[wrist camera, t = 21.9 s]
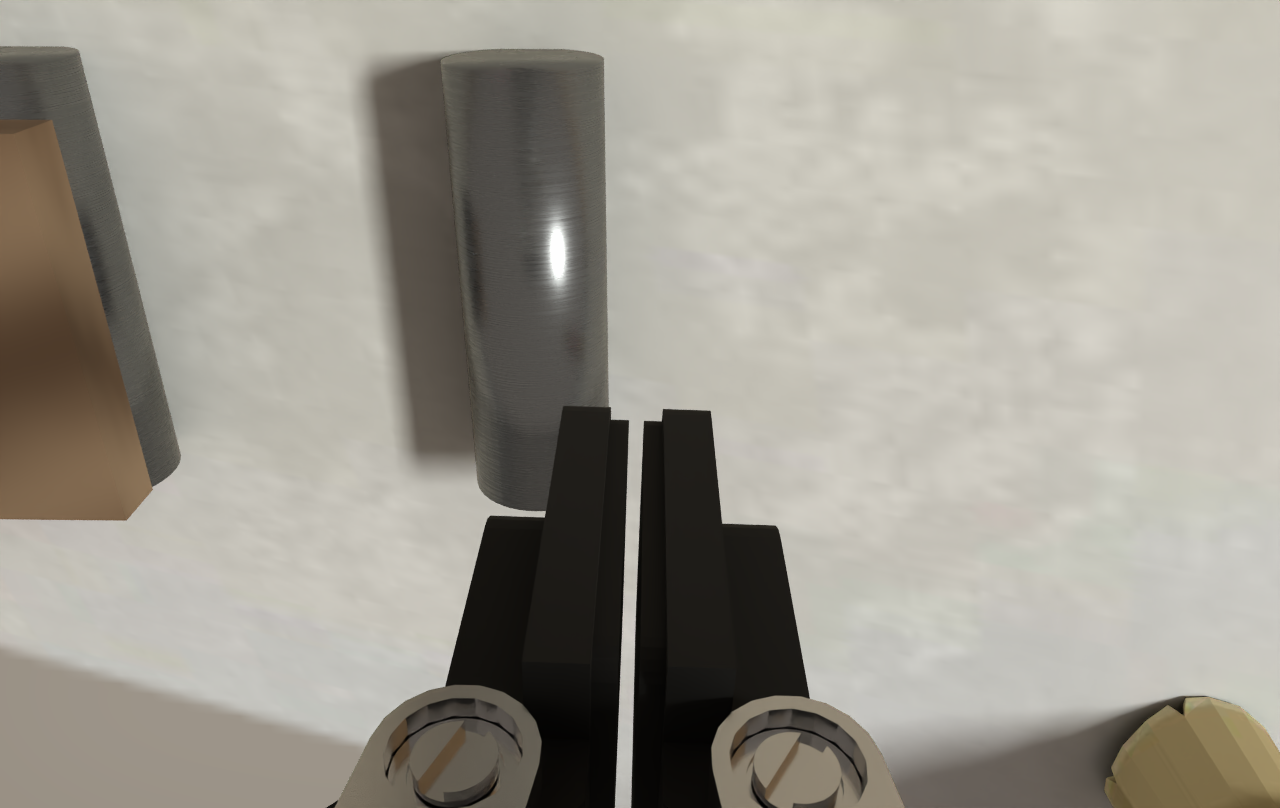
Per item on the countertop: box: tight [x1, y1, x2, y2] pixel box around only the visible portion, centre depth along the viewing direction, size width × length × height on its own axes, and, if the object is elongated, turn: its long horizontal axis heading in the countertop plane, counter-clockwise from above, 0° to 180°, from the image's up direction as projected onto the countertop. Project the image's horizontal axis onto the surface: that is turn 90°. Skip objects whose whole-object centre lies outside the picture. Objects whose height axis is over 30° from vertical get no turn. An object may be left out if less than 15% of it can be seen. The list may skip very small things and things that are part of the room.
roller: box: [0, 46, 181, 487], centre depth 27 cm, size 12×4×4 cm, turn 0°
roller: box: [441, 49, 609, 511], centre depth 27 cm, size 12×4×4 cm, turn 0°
